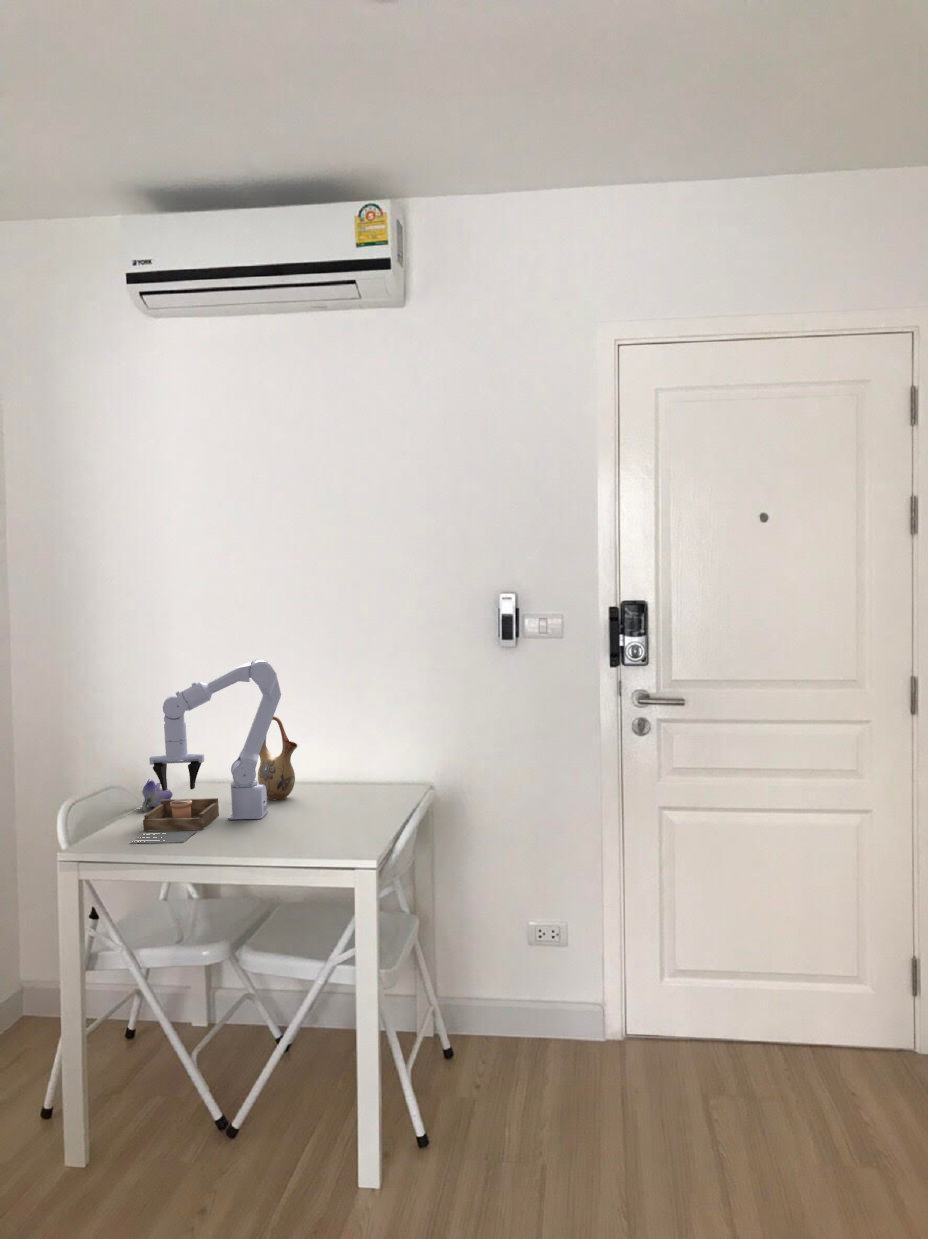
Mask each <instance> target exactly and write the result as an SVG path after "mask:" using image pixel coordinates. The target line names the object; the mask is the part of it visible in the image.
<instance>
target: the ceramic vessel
mask: <svg viewBox="0 0 928 1239" xmlns="http://www.w3.org/2000/svg"><path fill="white" fill-rule="evenodd" d="M272 721H275V722H276V723H277V725H278V728H279V731H280V735H281V742H282V748H281V749H282V750H281V753H280V754H279V755H278V756H276V755H273V754H272V753H271V752H270V751H269V749H268V747H267V736H266V737H265V740H264V743H263V745H262V748H261V750H260V753H259V758H260V764H259V768H258V769H257V784H260V785H265V786H266V792H267V799H270V800H272V799H281V800H284V799H286V798H288V797H289V796H290V794H291V793H292V791H293V789H294V788H295V787H294V786H295V783H296V775H295V769H294V768H293V764H292V761H291V758H292V755H293V752H294V751H295V750H296V749H297V748H298V747H299V745H298V744H297V743H296V742H295V741H290V740H289V738H288V735H287V734H286V733H287V732H286V730H285V728H284V724H283V723H282V721H281V719H280V718H279V717H278V716H275V715H274V716H273V719H272Z"/></svg>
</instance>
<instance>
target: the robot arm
mask: <svg viewBox="0 0 928 1239" xmlns="http://www.w3.org/2000/svg"><path fill="white" fill-rule="evenodd" d="M250 679H251V680H252V681H253V682H254V683H255V684H256V685H257V687H258V688H259V690H260V692H261V694H262V697H261V700H260V702H259V705H258V707H257V711H256V714H255V716H254V717H253V718H254V719H253V722H252V724H251V727H250V728H249V732H248V734H247V737H246V739H245V742H244V745H243V748H242V749H241V751H240V753H239V755H238V757H237V758H236V760H235V761H233V763H232V765H231V767H230V772H231V775H232V782H231V783H230V793H231V794H230V795H231V815H229V816H228V817H227V819H228V820H260V819H263V818H264V816H266V815H267V814H268V812H269V809H268V797H267V792H266V786H265V785H260V784H259V783H258V780H256V777H257V771H256V768H257V764H258V761H259V758H260V756H259V753H260V750H261V748H262V745H263V743H264V740H265V737H266V738H267V735H268V732H269V729H270V726H271V724H272V721H273V720H272V719H273V716H275V713H276V710H277V707H278V705H279V703H280V699H281V696H282V692H281V688H280V683H279V679H278V675H277V672H276V670H274V668H273V666H272V665H271V664H270V663H269V661H267V660H266V659H263V658H256V659H254V660H252V661H251V662H246V663H243V664H242V665H239V666H237V667H235V668H233V669H231V670H230V671H227V672H226V673H224V674H223V675H220V676H219V677H216V678H215V679H213V680H210V681H209V682H207V683H205V682H202V681H199V682H198V683H197V682H195V681H194V682H192V683H191V686H190V687H187V688H186V689H184V690H182V691H176V692H175V695H171V696H169V697H167V698H165V700H164V702H163V705H162V712H163V714H164V717H163V722H164V724H163V728H164V729H163V730H164V732H163V733H164V743H165V744H164V746H165V755H164V754H163V755H156V756H154V755H153V756H150V757H149V758H148V759H149V765H150V766H152V770H153V771H154V773H155V775H156V776H157V778H158V780H159V783H161V784H160V787H161V789H162V791H165V790H166V789H168V779H167V770H168V768H167V765H168V764H184V763H187V769H188V773H189V774H188V775H189V788H190V790H194V789H196V782H197V776H198V773H199V771H200V768H201V766H202V763H204V762H205V754H204V753H203V754H201V753H200V754H196V753H195V754H194V753H188V741H187V739H188V738H187V725H186V722H185V712H187V711H188V712H190V711H192V710H194V709H196V708H198V707H199V706H203V704H205V703H207V702H209V701H211V699H212V695H213V694H215V693H217V692H219V691H221V690H223V689H225V688H227V687H230V686H232V685H234V684H236V683H238V682H242V683H243V682H245V683H250V682H251V680H250ZM188 763H189V764H188Z"/></svg>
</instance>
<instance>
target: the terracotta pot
mask: <svg viewBox="0 0 928 1239" xmlns="http://www.w3.org/2000/svg"><path fill="white" fill-rule="evenodd" d="M181 799H182V800H175V801H172V802H170V807H172V818H192V817H191V805H192V800H189V799H190V798H181Z"/></svg>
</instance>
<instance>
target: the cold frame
mask: <svg viewBox="0 0 928 1239" xmlns="http://www.w3.org/2000/svg"><path fill="white" fill-rule="evenodd" d="M182 799H183V798H175V799H174V798H171V799H167V800H161V804H160V805H159V806H157V807H156V808H155V807H153V809H152V810H150V811H148V812H146V814H144V816H143V819H142V825H143V826H142V828H143V831H144V830H172V831H202V830H204V829H205V828H206V827H208V826H209V825H210V824H211V823H213V821H215V820H216V819H217V818H219V816H220V811H219V798H216V797H211V798H209V797H208V798H205V797H204V798H188V799H189V800H192V805H191V818H165V817H172V807H170V802H172V801H175V800H182ZM164 818H165V819H164Z"/></svg>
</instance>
